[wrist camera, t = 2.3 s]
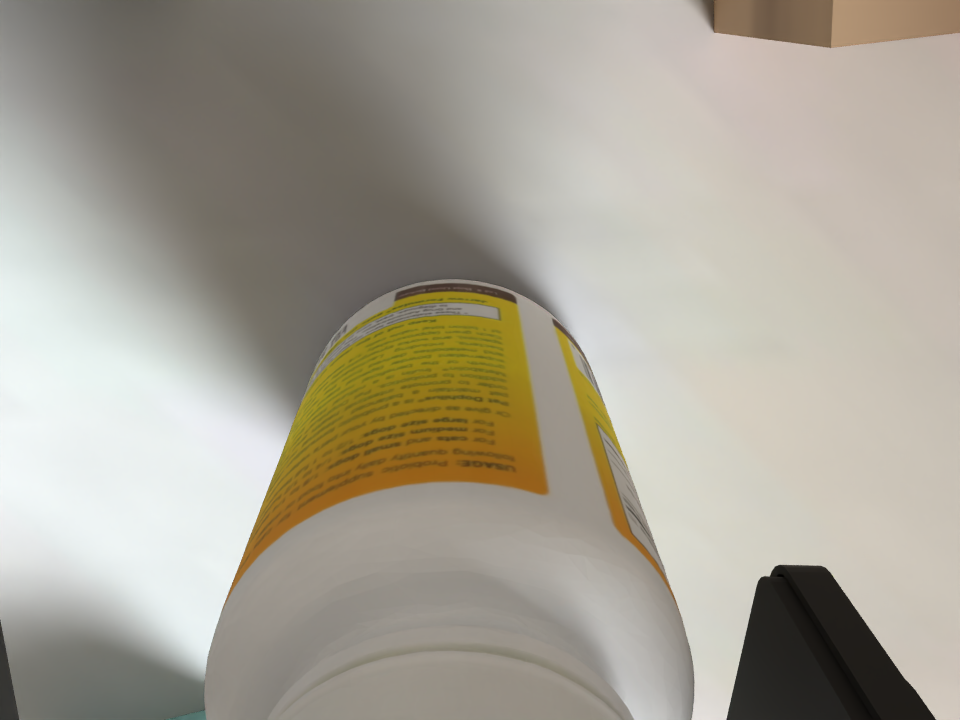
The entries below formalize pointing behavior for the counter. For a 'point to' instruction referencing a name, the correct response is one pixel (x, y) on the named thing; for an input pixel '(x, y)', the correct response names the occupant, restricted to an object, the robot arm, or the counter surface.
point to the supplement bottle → (451, 535)
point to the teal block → (191, 716)
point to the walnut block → (836, 20)
